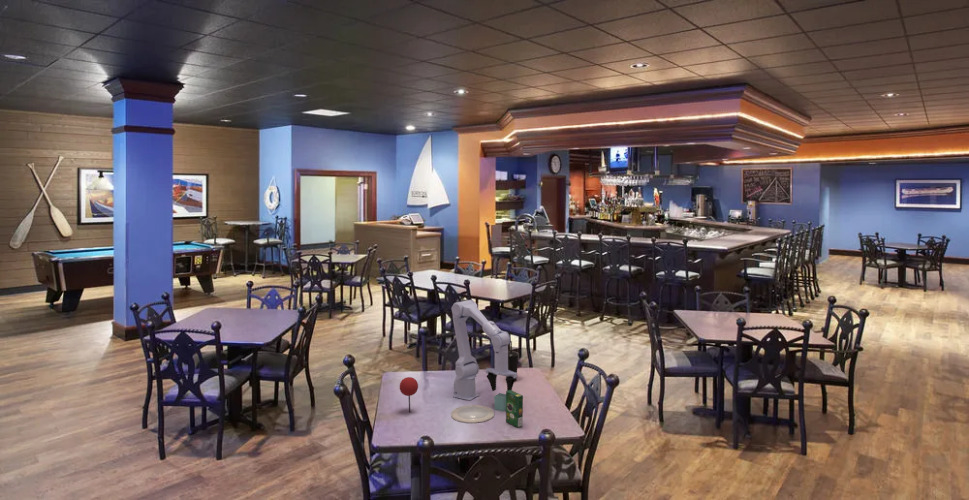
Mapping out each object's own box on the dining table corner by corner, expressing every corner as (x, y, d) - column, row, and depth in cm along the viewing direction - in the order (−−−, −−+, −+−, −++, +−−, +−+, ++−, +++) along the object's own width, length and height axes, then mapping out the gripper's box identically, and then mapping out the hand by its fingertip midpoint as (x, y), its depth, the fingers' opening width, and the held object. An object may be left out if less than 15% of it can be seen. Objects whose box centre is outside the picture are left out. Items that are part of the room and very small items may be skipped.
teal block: (494, 409, 251) (494, 396, 251) (499, 406, 255) (499, 393, 254) (503, 411, 249) (503, 398, 248) (508, 408, 253) (508, 394, 252)
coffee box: (523, 426, 232) (523, 394, 231) (517, 428, 231) (517, 396, 229) (511, 420, 239) (511, 389, 238) (505, 422, 237) (505, 390, 236)
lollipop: (421, 409, 252) (420, 375, 250) (413, 416, 245) (412, 381, 243) (405, 407, 254) (404, 374, 253) (397, 414, 247) (396, 379, 246)
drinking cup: (502, 378, 293) (502, 339, 291) (517, 377, 293) (517, 338, 291) (504, 383, 285) (504, 343, 283) (520, 382, 286) (519, 342, 284)
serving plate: (442, 417, 243) (442, 415, 243) (466, 404, 258) (466, 402, 258) (479, 426, 233) (479, 424, 233) (502, 411, 248) (502, 409, 248)
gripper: (481, 360, 250) (482, 391, 252) (511, 365, 243) (511, 397, 244) (490, 356, 256) (490, 386, 257) (519, 361, 248) (519, 392, 250)
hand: (501, 391), depth 251 cm, fingers open, 7 cm apart
